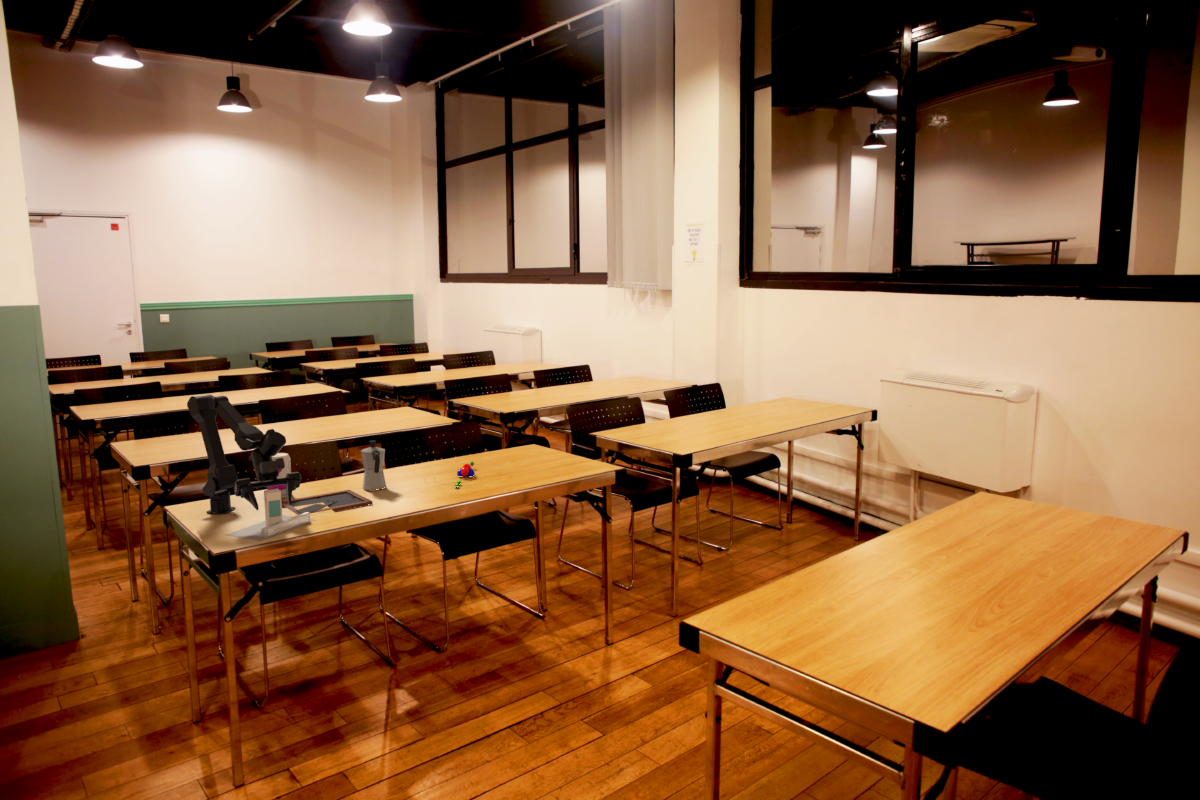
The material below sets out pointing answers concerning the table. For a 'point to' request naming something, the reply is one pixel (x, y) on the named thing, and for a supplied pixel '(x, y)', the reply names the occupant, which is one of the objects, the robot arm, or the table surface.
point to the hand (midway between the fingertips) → (274, 506)
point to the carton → (273, 506)
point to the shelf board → (257, 530)
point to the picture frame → (327, 502)
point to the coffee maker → (373, 467)
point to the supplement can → (282, 472)
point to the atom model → (464, 471)
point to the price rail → (285, 525)
